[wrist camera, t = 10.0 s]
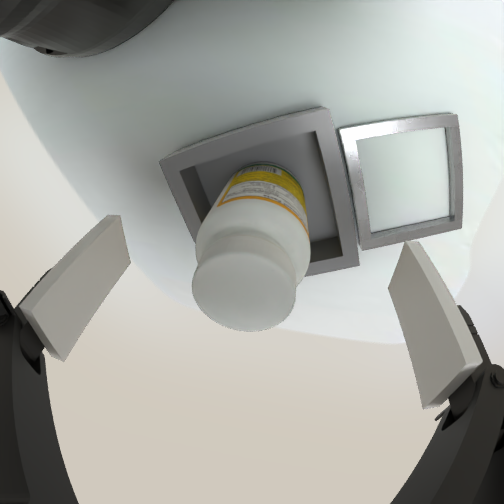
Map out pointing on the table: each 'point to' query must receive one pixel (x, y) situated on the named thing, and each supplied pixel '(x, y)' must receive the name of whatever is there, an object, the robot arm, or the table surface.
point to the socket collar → (357, 184)
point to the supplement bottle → (253, 249)
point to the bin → (283, 154)
